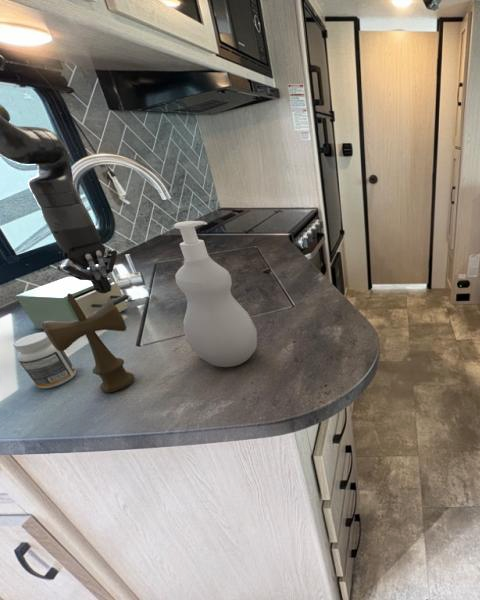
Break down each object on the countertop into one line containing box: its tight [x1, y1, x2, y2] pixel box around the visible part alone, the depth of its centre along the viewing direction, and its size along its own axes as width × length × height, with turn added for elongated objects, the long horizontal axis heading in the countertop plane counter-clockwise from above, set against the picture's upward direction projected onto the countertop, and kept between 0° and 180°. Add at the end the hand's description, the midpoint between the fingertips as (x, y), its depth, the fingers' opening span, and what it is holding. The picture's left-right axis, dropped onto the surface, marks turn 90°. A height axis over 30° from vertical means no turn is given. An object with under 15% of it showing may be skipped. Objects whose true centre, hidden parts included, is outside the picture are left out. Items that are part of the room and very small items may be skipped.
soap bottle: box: [173, 220, 258, 368], centre depth 62 cm, size 17×12×29 cm
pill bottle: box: [12, 331, 77, 389], centre depth 61 cm, size 6×6×10 cm
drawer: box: [67, 281, 129, 317], centre depth 83 cm, size 17×11×8 cm, turn 82°
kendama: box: [42, 293, 135, 393], centre depth 57 cm, size 6×10×20 cm, turn 143°
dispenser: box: [15, 276, 113, 330], centre depth 83 cm, size 14×12×10 cm
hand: (105, 291), depth 80 cm, fingers closed
